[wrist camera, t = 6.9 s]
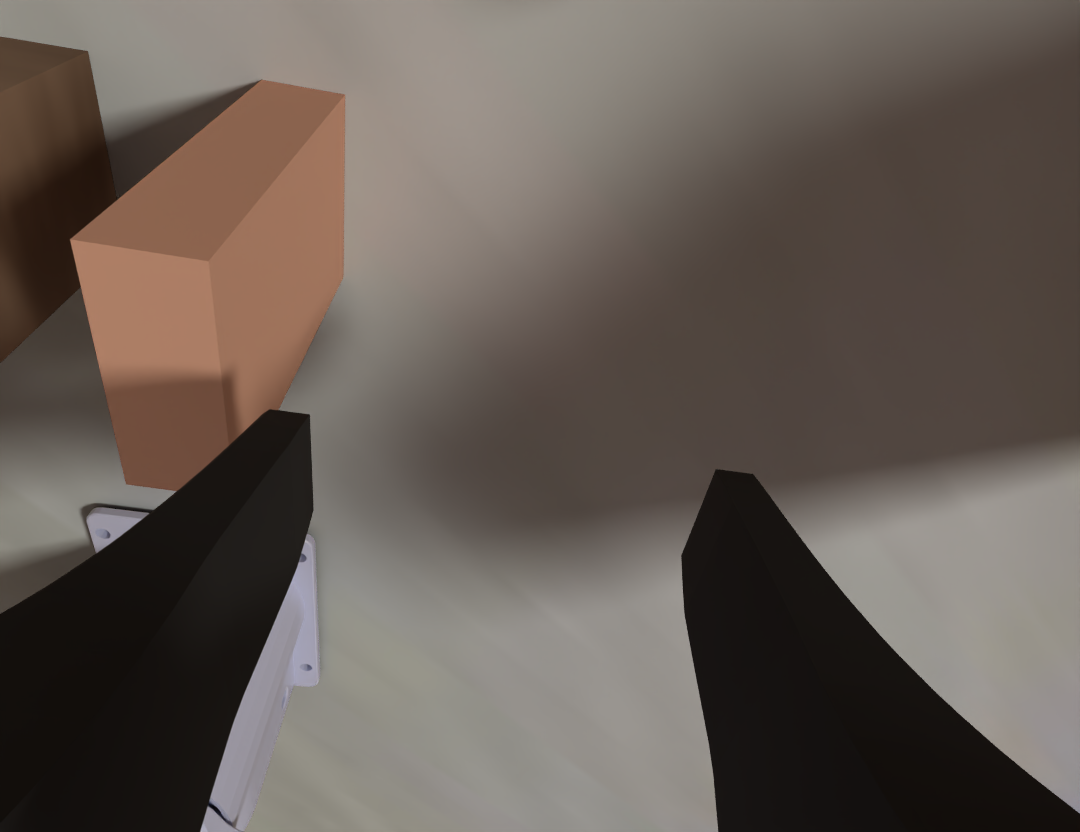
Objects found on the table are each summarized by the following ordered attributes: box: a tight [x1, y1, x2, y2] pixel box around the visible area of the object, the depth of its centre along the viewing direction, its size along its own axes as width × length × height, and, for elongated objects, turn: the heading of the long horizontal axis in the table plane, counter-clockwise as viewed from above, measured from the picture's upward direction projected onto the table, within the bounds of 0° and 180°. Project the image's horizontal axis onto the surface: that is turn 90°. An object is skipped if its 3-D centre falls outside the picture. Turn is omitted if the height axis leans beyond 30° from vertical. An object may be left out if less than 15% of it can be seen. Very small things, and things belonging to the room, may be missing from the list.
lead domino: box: [70, 80, 345, 491], centre depth 16 cm, size 5×2×9 cm, turn 170°
